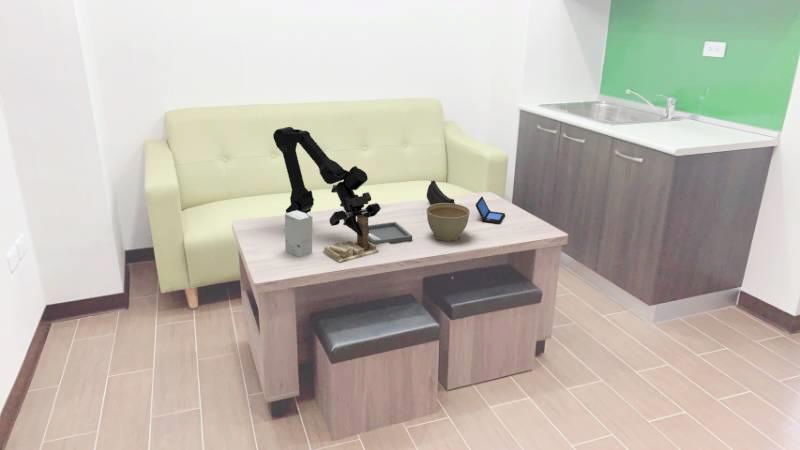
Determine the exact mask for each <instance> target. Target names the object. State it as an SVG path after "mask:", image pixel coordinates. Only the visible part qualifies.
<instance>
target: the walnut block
mask: <svg viewBox="0 0 800 450" xmlns="http://www.w3.org/2000/svg"><path fill="white" fill-rule="evenodd" d="M356 221H357V223H358V225H359V227H360V230H361V232H362V236H359V235H358V234H357V233H356V235H357V237H356V242H357V245H358V246H360V247H361V248H363V249H364V252H369V249H368V235H369V234H368V225H369V217H368V218H367V217H365V216H363V215H358V216H356Z"/></svg>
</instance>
